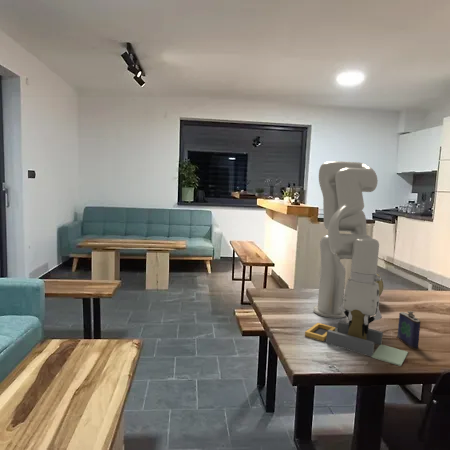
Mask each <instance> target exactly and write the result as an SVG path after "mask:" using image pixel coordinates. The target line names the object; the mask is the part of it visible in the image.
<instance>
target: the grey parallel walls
mask: <svg viewBox="0 0 450 450" xmlns="http://www.w3.org/2000/svg"><path fill="white" fill-rule="evenodd" d="M348 330H349V322H346V321H342V320H339V321H338V323H337V331H332V330H328V331H327V339H326V340H325V341H326V342H325V343H326V344H328V345H331V346H334V347H338V348H342V349H345V350H348V351H351V352H355V353H358V354H361V355H365V356H368V357H371V358H372V355H373V354H374V352H375V345H378V346H380V344H382V343H383V335H384V334H383V333H384V332H383V331H380V330H377V329H373V328H369V327H368V333H367V334H366V339H367V340H364V339H361V338H357V337H354V336H350V335H348ZM382 345H383V344H382Z"/></svg>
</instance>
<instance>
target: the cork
mask: <svg viewBox="0 0 450 450" xmlns="http://www.w3.org/2000/svg"><path fill="white" fill-rule="evenodd" d="M351 315H352V320H351V321H352V323H351V322H350V323H351V326H349V330H348V335H350V336H354V337H357V338H361V339H364V340H367V339H366V334H365V332H364V336H363V335H362V325H363V324H364V317H365V315H364V314H362V312H361V311H359V310H353V311H351Z"/></svg>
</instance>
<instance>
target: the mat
mask: <svg viewBox="0 0 450 450" xmlns="http://www.w3.org/2000/svg"><path fill="white" fill-rule="evenodd" d="M408 354H409V351H407V350H404V349H399V348H396V347H393V346H388V345H385V344H380V345H378V347H377V348H376V349H375V350H374V352H373V355H372V357H371V358H372V359H376V360H379V361H382V362H384V363H385V362H386V363H388V364H391V365H395V366H399V367H402V365H403V363H404V361H405V359H406V357H407V356H408Z"/></svg>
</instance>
